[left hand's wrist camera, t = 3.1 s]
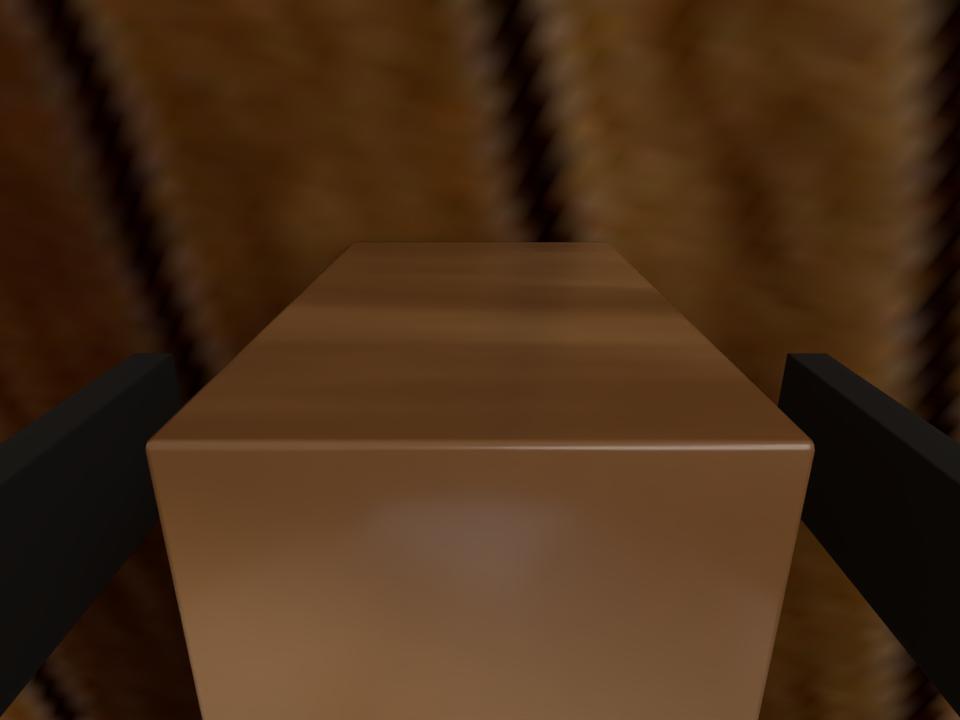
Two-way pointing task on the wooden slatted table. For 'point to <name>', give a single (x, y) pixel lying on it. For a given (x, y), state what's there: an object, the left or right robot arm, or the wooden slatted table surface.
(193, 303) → the wooden slatted table surface
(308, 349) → the bar
